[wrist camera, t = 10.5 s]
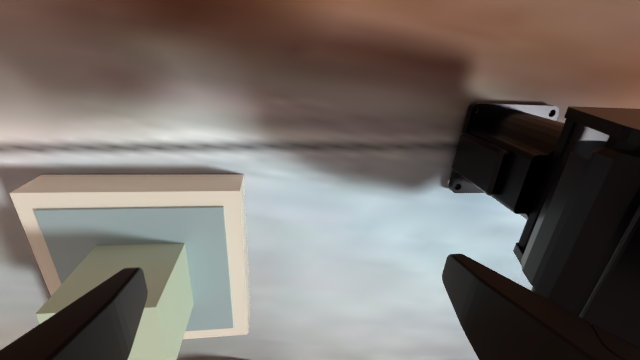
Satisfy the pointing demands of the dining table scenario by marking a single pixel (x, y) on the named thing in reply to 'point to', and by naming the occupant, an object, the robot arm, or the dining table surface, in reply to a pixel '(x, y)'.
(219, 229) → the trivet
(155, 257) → the cube
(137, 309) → the robot arm
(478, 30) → the dining table surface
